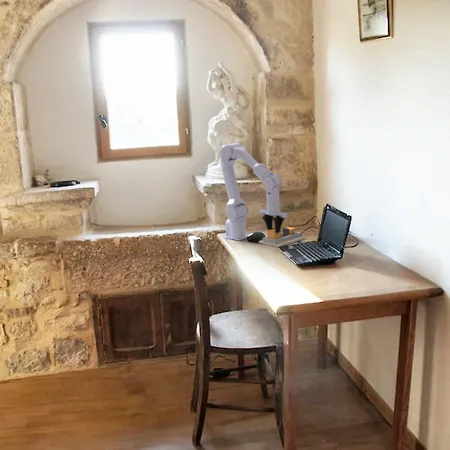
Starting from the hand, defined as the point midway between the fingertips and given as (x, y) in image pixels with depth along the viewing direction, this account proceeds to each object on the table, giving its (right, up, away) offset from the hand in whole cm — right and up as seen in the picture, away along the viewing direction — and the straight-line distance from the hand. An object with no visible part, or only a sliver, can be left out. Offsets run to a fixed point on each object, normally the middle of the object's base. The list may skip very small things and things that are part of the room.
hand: (273, 231), depth 266 cm
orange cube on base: (0, -3, +1) cm, 3 cm away
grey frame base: (+4, -4, +5) cm, 8 cm away
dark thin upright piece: (+23, -4, +4) cm, 24 cm away
